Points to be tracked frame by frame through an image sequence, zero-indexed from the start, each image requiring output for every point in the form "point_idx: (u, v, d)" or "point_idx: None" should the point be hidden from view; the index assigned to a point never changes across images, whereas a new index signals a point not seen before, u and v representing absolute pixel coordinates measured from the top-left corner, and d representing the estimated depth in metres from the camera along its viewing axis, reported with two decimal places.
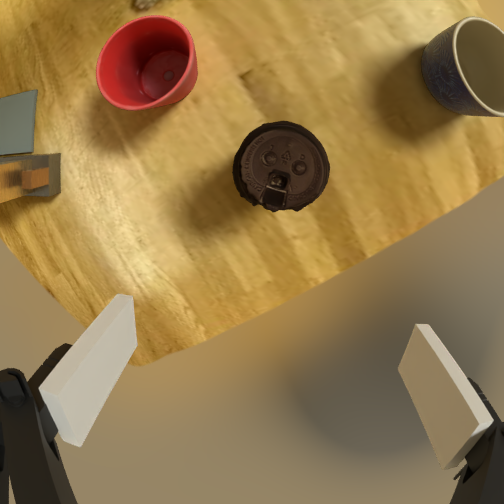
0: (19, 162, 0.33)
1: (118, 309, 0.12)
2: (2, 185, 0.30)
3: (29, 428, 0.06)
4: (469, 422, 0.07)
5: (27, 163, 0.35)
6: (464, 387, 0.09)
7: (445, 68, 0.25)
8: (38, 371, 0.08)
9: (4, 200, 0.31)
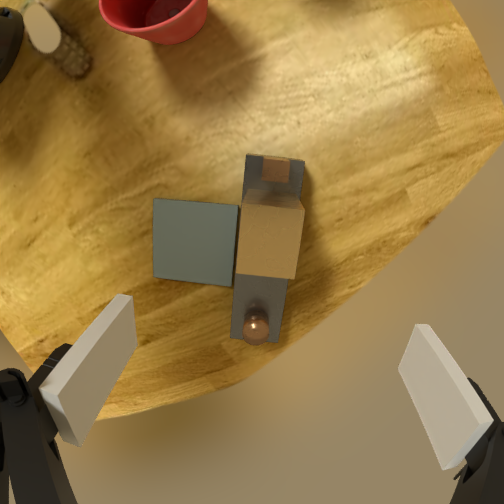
0: (247, 193, 0.29)
1: (118, 309, 0.12)
2: (275, 203, 0.26)
3: (29, 428, 0.06)
4: (469, 422, 0.07)
5: (252, 190, 0.31)
6: (464, 387, 0.09)
7: None
8: (38, 371, 0.08)
9: (300, 206, 0.26)
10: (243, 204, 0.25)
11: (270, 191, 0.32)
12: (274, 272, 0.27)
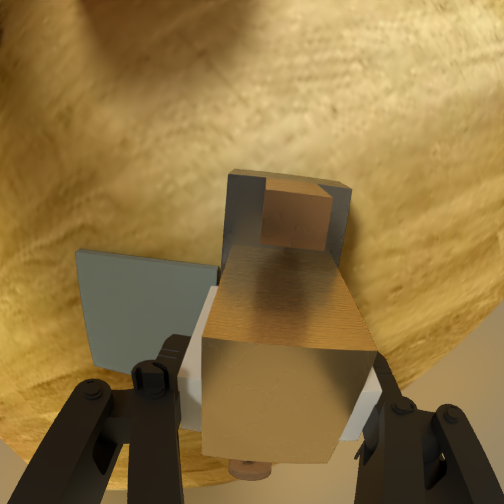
0: (228, 267, 0.13)
1: None
2: (297, 320, 0.10)
3: (164, 422, 0.07)
4: None
5: (241, 253, 0.15)
6: None
7: None
8: None
9: (359, 322, 0.10)
10: (205, 339, 0.08)
11: (279, 252, 0.15)
12: (285, 457, 0.10)
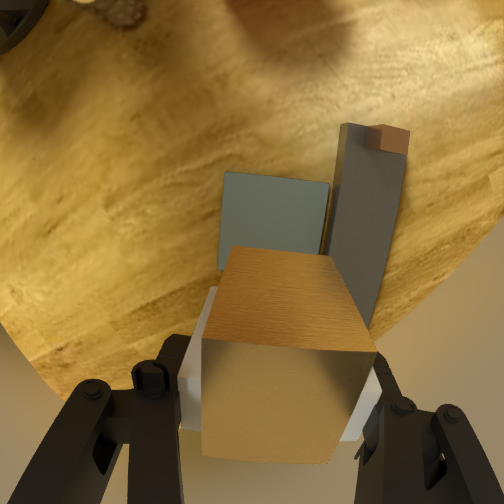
0: (228, 268, 0.13)
1: None
2: (297, 321, 0.10)
3: (164, 422, 0.07)
4: None
5: (241, 254, 0.15)
6: None
7: None
8: None
9: (359, 323, 0.10)
10: (205, 340, 0.08)
11: (279, 252, 0.15)
12: (285, 458, 0.10)
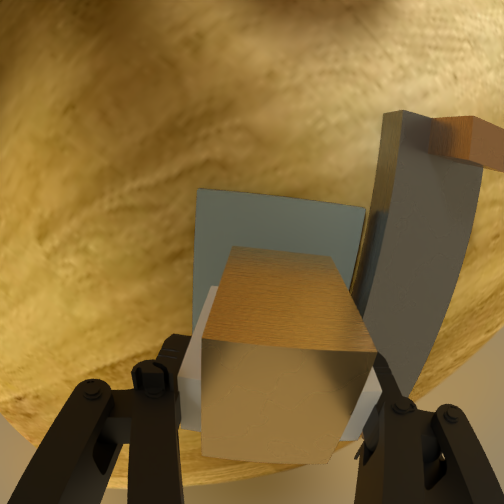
0: (228, 268, 0.13)
1: None
2: (297, 321, 0.10)
3: (164, 422, 0.07)
4: None
5: (241, 254, 0.15)
6: None
7: None
8: None
9: (359, 323, 0.10)
10: (205, 340, 0.08)
11: (279, 253, 0.15)
12: (285, 458, 0.10)
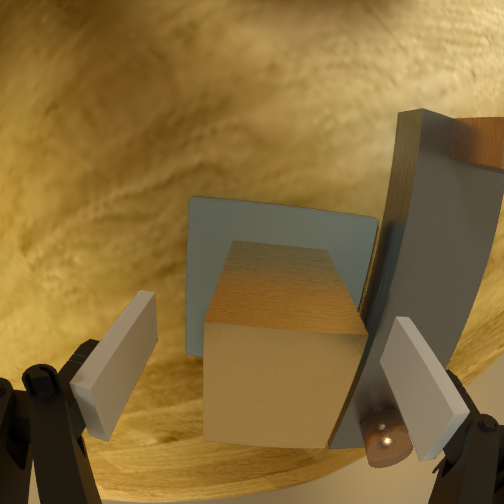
0: (229, 260, 0.14)
1: (142, 304, 0.13)
2: (293, 307, 0.10)
3: (59, 424, 0.06)
4: (444, 413, 0.08)
5: (241, 247, 0.16)
6: (440, 378, 0.09)
7: None
8: (65, 367, 0.09)
9: (352, 309, 0.10)
10: (208, 323, 0.09)
11: (277, 246, 0.16)
12: (284, 441, 0.11)
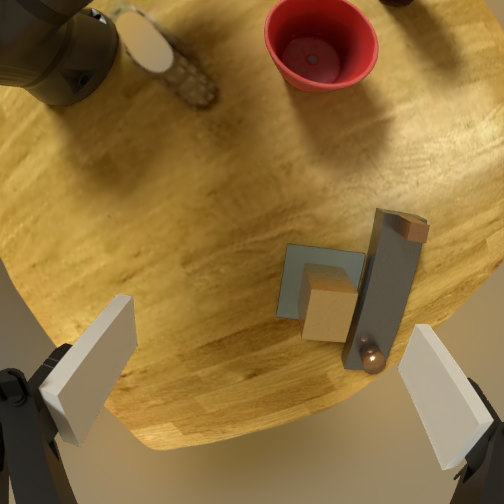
0: (308, 271, 0.36)
1: (118, 309, 0.12)
2: (334, 286, 0.33)
3: (29, 428, 0.06)
4: (469, 422, 0.07)
5: (309, 266, 0.38)
6: (464, 387, 0.09)
7: None
8: (38, 371, 0.08)
9: (353, 287, 0.33)
10: (312, 289, 0.31)
11: (323, 265, 0.38)
12: (330, 338, 0.33)
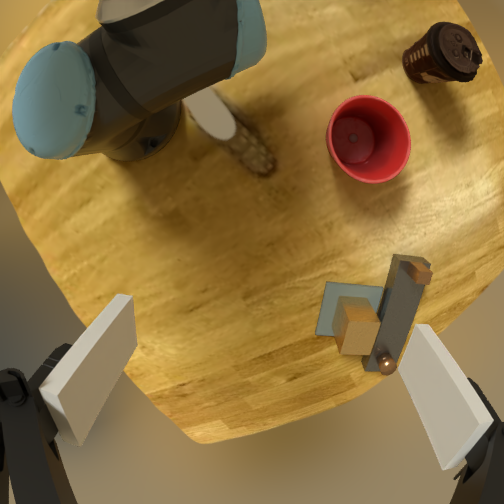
0: (343, 304, 0.47)
1: (118, 309, 0.12)
2: (364, 317, 0.44)
3: (29, 428, 0.06)
4: (469, 422, 0.07)
5: (343, 298, 0.49)
6: (464, 387, 0.09)
7: None
8: (38, 371, 0.08)
9: (376, 317, 0.44)
10: (350, 321, 0.43)
11: (352, 297, 0.50)
12: (360, 352, 0.44)
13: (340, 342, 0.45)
